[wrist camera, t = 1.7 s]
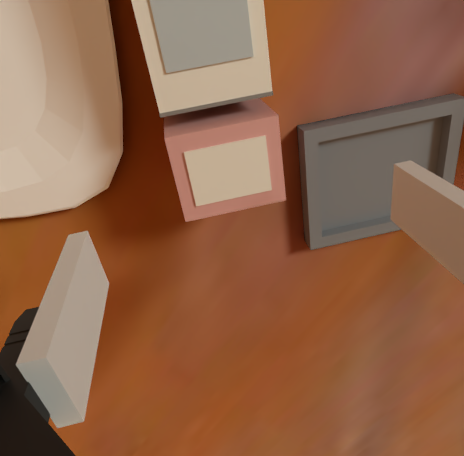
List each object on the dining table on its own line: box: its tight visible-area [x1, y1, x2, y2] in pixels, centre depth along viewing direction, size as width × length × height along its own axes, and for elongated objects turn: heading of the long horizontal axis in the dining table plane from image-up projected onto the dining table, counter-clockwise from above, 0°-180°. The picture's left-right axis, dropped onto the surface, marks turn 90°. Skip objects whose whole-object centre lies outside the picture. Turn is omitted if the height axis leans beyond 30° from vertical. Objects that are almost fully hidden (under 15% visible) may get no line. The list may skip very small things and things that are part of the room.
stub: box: [164, 98, 286, 222], centre depth 24 cm, size 5×6×7 cm
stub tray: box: [297, 94, 464, 250], centre depth 30 cm, size 10×12×2 cm
